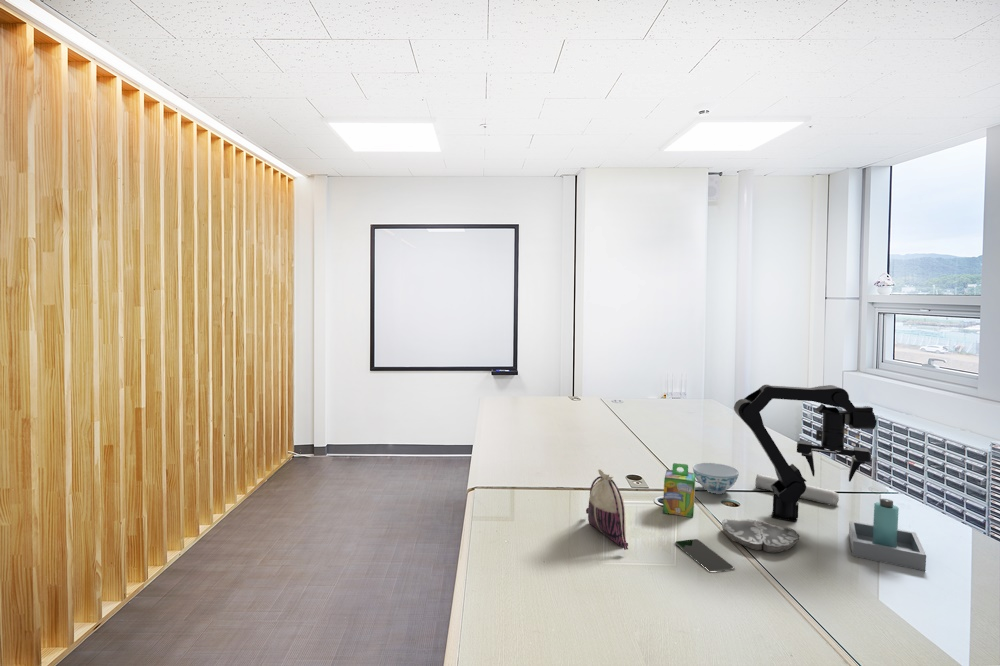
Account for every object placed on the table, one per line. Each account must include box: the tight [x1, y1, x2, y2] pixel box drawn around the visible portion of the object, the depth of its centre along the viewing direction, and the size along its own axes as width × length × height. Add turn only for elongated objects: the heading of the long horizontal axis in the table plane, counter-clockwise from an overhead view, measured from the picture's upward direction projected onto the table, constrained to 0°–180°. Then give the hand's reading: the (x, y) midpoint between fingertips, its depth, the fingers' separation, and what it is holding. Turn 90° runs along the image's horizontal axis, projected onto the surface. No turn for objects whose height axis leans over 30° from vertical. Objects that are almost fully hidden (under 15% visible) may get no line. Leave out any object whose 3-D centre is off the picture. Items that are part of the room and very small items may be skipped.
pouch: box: [585, 468, 629, 550], centre depth 149 cm, size 25×8×19 cm, turn 22°
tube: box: [754, 473, 840, 506], centre depth 180 cm, size 5×5×25 cm
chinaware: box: [692, 462, 740, 495], centre depth 185 cm, size 15×15×8 cm
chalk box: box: [662, 462, 696, 518], centre depth 166 cm, size 9×9×15 cm
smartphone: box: [674, 538, 735, 572], centre depth 137 cm, size 7×1×16 cm
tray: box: [848, 520, 927, 571], centre depth 140 cm, size 15×15×4 cm
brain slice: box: [721, 518, 801, 553], centre depth 145 cm, size 20×17×3 cm
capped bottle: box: [872, 498, 900, 548], centre depth 140 cm, size 5×5×13 cm
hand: (831, 478), depth 159 cm, fingers open, 9 cm apart
